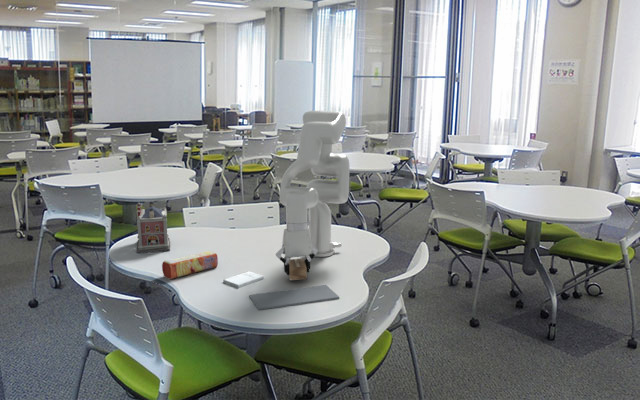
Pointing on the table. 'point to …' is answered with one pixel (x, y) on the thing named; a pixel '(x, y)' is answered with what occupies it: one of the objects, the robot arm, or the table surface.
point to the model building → (152, 230)
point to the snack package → (189, 264)
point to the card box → (297, 269)
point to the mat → (293, 297)
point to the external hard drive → (243, 279)
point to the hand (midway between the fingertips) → (297, 272)
